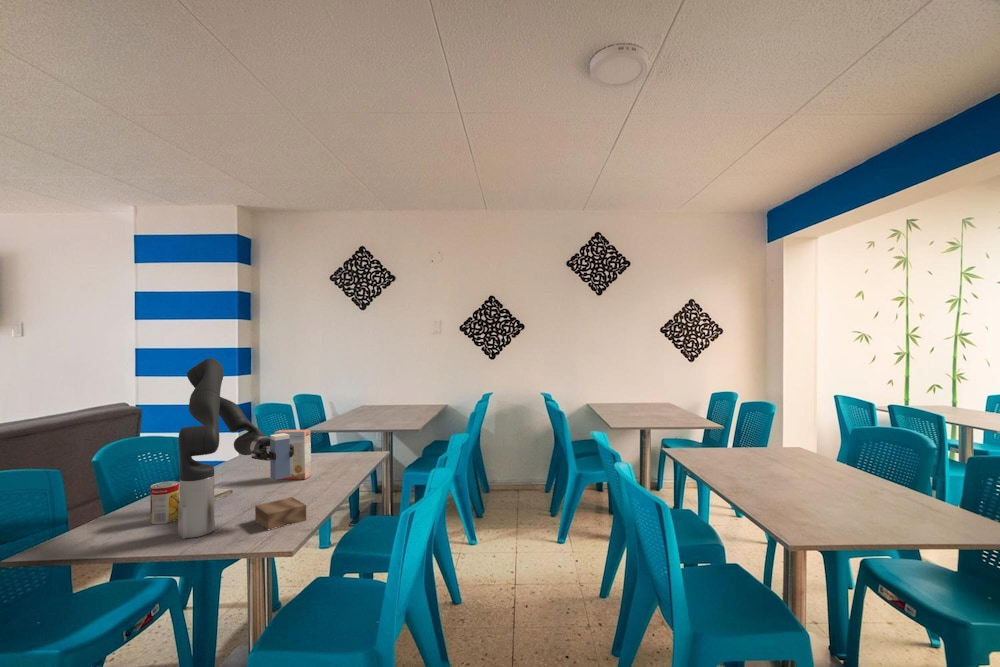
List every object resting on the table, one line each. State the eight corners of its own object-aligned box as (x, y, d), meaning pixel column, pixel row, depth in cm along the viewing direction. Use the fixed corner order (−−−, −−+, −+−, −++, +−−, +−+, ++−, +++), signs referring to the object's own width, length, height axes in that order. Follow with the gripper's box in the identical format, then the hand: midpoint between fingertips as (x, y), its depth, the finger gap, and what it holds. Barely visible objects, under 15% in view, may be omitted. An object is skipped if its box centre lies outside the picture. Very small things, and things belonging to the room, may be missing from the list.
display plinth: (268, 530, 151) (268, 514, 151) (255, 520, 159) (255, 505, 159) (306, 520, 159) (306, 504, 159) (292, 511, 168) (291, 497, 168)
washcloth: (167, 508, 175) (167, 499, 175) (209, 493, 192) (209, 485, 192) (193, 510, 172) (192, 502, 172) (233, 495, 189) (233, 487, 189)
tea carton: (275, 479, 156) (275, 436, 156) (270, 477, 160) (270, 435, 160) (290, 476, 160) (289, 434, 160) (284, 474, 163) (284, 433, 163)
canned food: (181, 514, 167) (181, 479, 167) (175, 522, 159) (175, 486, 160) (154, 517, 164) (154, 482, 164) (147, 525, 156) (147, 489, 157)
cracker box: (311, 476, 212) (311, 429, 213) (304, 480, 206) (304, 431, 207) (281, 475, 214) (281, 429, 214) (274, 479, 208) (273, 431, 208)
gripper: (242, 440, 165) (260, 447, 153) (285, 434, 175) (304, 440, 163) (243, 462, 165) (260, 471, 153) (285, 454, 175) (305, 462, 163)
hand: (283, 455), depth 158 cm, fingers closed on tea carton, 4 cm apart
